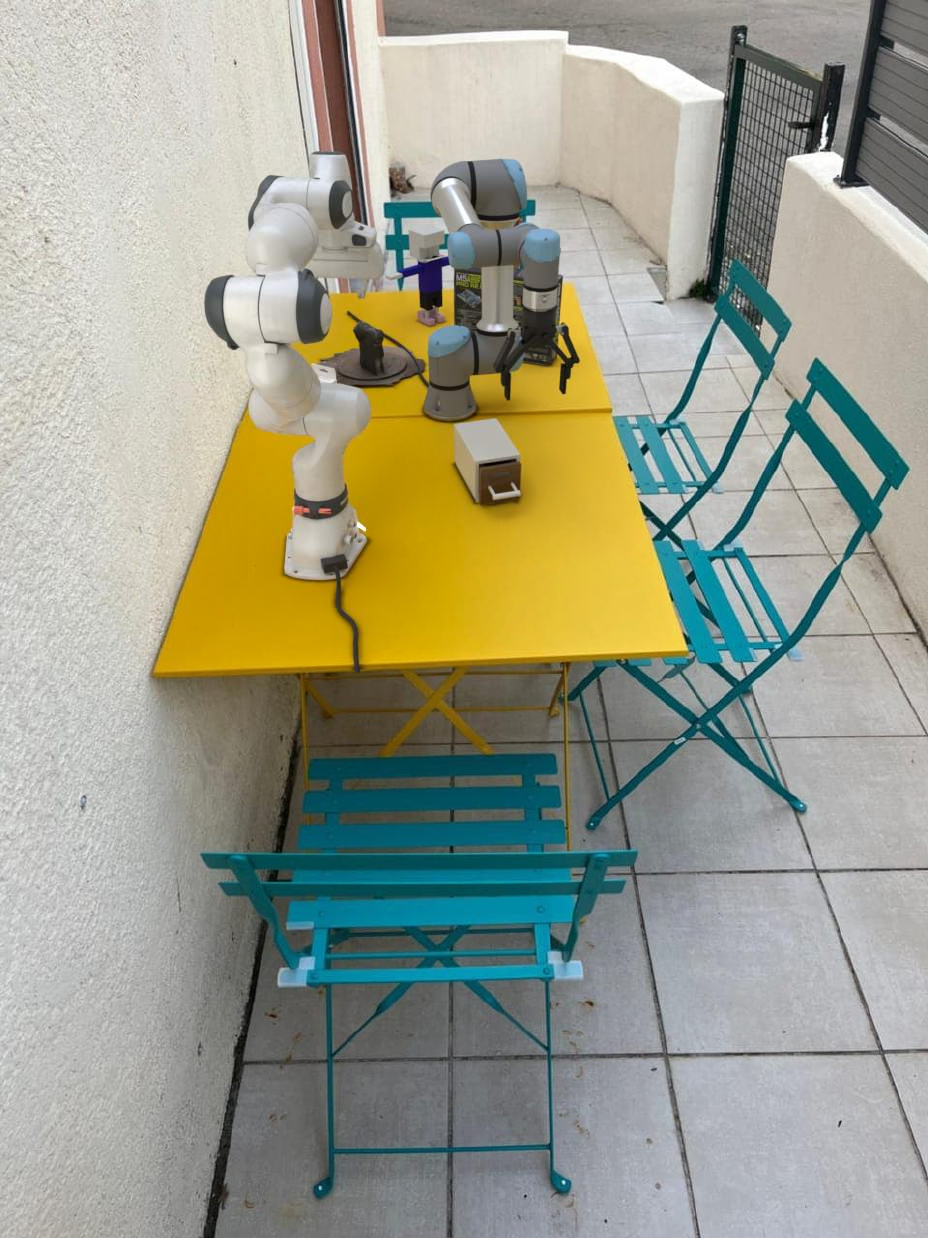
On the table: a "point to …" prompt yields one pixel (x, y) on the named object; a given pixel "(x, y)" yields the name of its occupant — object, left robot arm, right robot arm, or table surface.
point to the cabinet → (480, 450)
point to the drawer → (499, 481)
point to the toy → (426, 271)
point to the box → (471, 307)
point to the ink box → (325, 374)
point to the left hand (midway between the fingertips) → (341, 296)
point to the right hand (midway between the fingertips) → (534, 394)
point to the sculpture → (372, 360)
